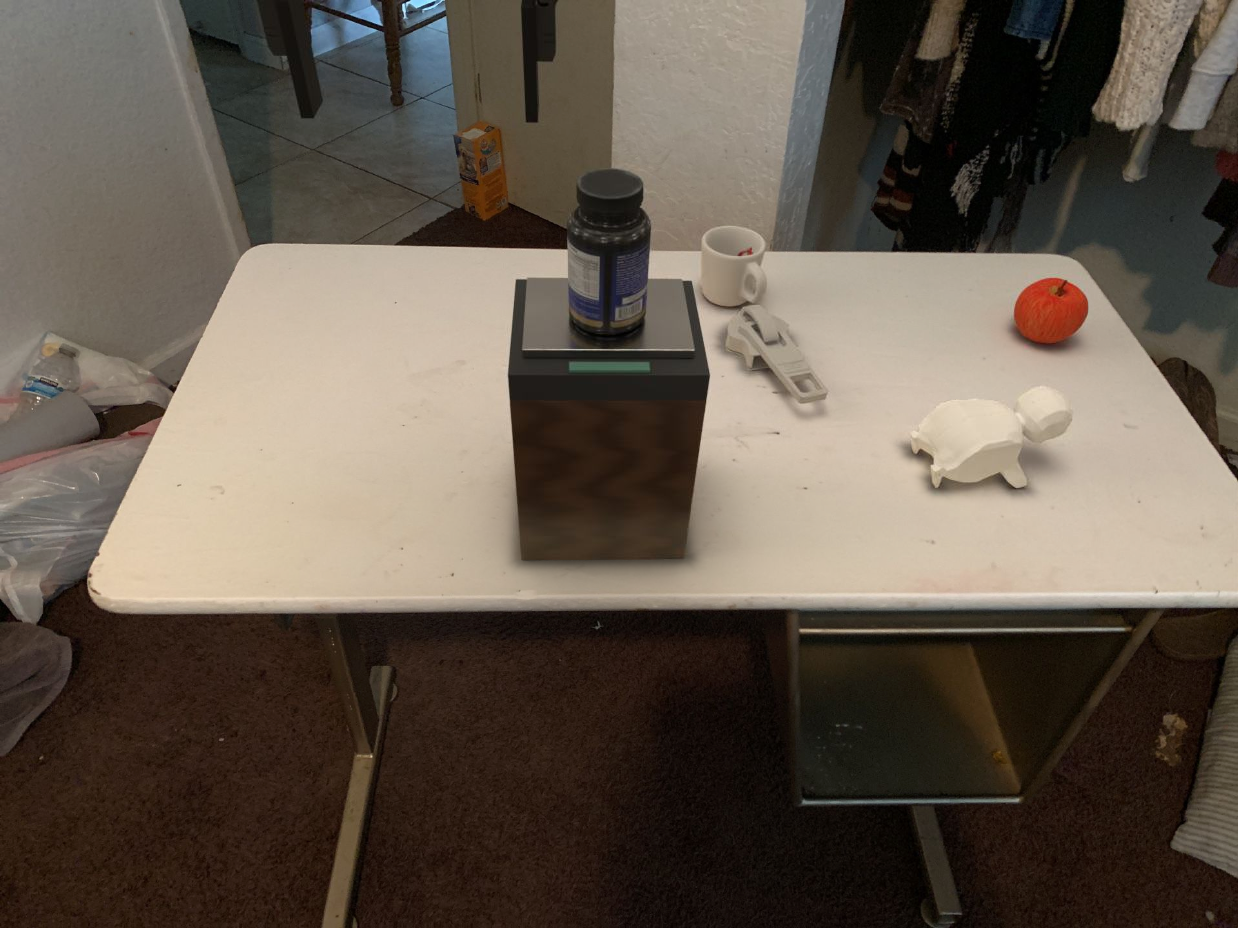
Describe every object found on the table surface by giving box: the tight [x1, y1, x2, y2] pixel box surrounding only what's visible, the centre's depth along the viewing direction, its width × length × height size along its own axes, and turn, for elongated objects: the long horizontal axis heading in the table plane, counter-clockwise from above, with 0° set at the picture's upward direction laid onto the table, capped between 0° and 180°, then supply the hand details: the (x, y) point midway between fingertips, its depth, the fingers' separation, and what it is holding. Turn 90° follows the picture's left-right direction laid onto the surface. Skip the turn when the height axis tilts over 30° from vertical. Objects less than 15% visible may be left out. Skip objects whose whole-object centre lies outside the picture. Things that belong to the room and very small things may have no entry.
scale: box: [507, 277, 711, 402], centre depth 67 cm, size 15×13×3 cm
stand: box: [509, 400, 707, 561], centre depth 75 cm, size 15×13×19 cm
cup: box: [700, 225, 768, 307], centre depth 105 cm, size 11×8×8 cm
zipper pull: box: [724, 303, 829, 405], centre depth 97 cm, size 8×18×4 cm, turn 18°
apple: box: [1013, 277, 1089, 344], centre depth 102 cm, size 8×8×8 cm
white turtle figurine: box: [909, 385, 1074, 489], centre depth 85 cm, size 9×8×15 cm
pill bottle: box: [566, 167, 652, 334], centre depth 62 cm, size 6×6×11 cm
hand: (423, 112), depth 52 cm, fingers open, 13 cm apart
